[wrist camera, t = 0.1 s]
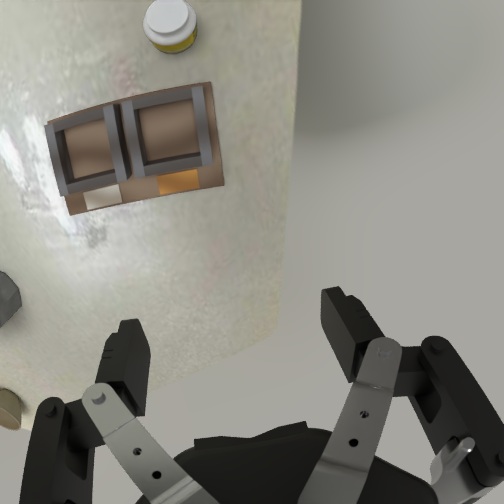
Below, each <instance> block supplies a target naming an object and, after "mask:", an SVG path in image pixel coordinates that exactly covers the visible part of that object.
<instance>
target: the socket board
mask: <svg viewBox="0 0 504 504" xmlns="http://www.w3.org/2000/svg"><path fill="white" fill-rule="evenodd" d="M47 123H48V125H45V126H44V127H45V133H46V138H47V143H48V147H49V152H50V157H51V161H52V165H53V169H54V173H55V177H56V181H57V185H58V189H59V193H60V196H64V197H65V201H66V204H67V208H68V211H69V214H70V216H71V215H75V214H80V213H84V212H88V211H93V210H97V209H102V208H106V207H111V206H115V205H120V204H125V203H130V202H135V201H139V200H145V199H150V198H155V197H160V196H165V195H171V194H176V193H182V192H188V191H193V190H199V189H205V188H211V187H218V186H224V180H223V173H222V165H221V158H220V151H219V143H218V136H217V128H216V121H215V113H214V105H213V97H212V90H211V82H204V83H198V84H192V85H186V86H180V87H174V88H169V89H164V90H159V91H154V92H149V93H145V94H140V95H136V96H132V97H128V98H124V99H120V100H116V101H112V102H108V103H105V104H101V105H98V106H94V107H91V108H87V109H84V110H81V111H78V112H74V113H71V114H68V115H65V116H62V117H59V118H56V119H54V120H51V121H48V122H47Z"/></svg>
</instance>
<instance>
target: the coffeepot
mask: <svg viewBox="0 0 504 504" xmlns="http://www.w3.org/2000/svg"><path fill="white" fill-rule="evenodd" d="M20 307H21V297H20V293H19V290H18V288H17V286H16V285H15V283H14V282H13V281H12V280H11V279H10V278H9V277H8V276H7V275H6V274H5V273H3V272H0V328H1V327H2V326H3V325H4V324H5V323H6V321H7V320H8V319H9V318H10V317H11V316H12V315H13V314H14V313H15V312H16V311H17V310H18V309H19V308H20Z"/></svg>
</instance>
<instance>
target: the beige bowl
mask: <svg viewBox="0 0 504 504" xmlns="http://www.w3.org/2000/svg"><path fill="white" fill-rule="evenodd" d="M0 426H2V427H4V428H6V429H9V430H13V431H17V430H19V429H20V428H21V407H20V403H19V399H18V397H17V396H16V395H15V394H14V393H12V392H11V391H9V390H6V389H3V390H1V391H0Z"/></svg>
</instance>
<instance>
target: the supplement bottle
mask: <svg viewBox="0 0 504 504" xmlns="http://www.w3.org/2000/svg"><path fill="white" fill-rule="evenodd" d="M143 28H144V32H145V34H146V35H147V37H148V38H149V40H150V41H151V42H152V43H153V45H154V46H155V47H156V48H157V49H158V50H160V51H162V52H164V53H168V54H176V53H180V52H183V51H185V50H186V49H188V48H189V47H190V46H191V45H192V44H193V42H194V41H195V39H196V35H197V18H196V13H195V11H194V9H193V8H192V6H191V5H190V4H188V3H187V2H185V1H183V0H156V1H154V2H153V3H152V4H151V5H150V6H149V8H148V10H147V12H146V15H145V17H144V20H143Z"/></svg>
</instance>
